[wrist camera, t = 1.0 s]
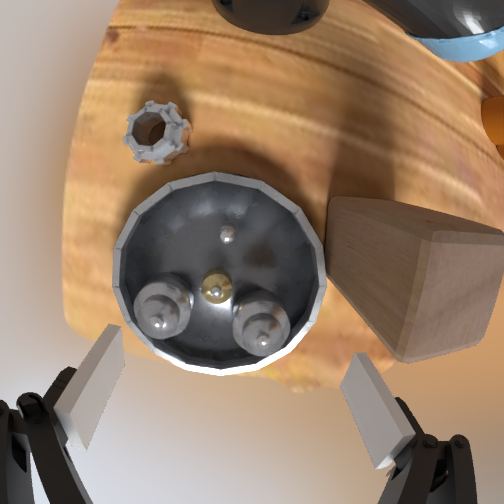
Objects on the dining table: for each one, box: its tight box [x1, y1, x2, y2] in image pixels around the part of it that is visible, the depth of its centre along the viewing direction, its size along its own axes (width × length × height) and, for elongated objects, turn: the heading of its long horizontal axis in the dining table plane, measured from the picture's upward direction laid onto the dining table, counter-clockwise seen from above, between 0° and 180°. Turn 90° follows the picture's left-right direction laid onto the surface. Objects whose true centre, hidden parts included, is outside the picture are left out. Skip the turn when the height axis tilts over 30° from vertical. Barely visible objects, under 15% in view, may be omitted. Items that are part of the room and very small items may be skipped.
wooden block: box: [324, 196, 504, 364], centre depth 25 cm, size 10×10×20 cm
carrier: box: [112, 172, 327, 375], centre depth 31 cm, size 25×25×8 cm
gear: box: [123, 100, 193, 166], centre depth 27 cm, size 7×7×6 cm
